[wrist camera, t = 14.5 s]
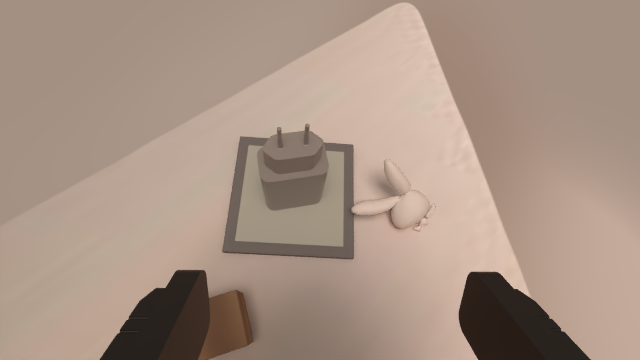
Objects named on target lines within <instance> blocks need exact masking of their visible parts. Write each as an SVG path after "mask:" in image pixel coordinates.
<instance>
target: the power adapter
mask: <svg viewBox="0 0 640 360" xmlns="http://www.w3.org/2000/svg"><path fill="white" fill-rule="evenodd" d="M257 161H258V168H259V175H260V179H261V184H262V188H263V192H264V197H265V201H266V205H267V207H268V208H269V209H270V210H273V211H276V210H282V209H288V208H295V207H301V206H307V205H314V204H317V203H319V202H320V200H321V197H322V193H323V189H324V185H325V181H326V177H327V173H328V169H329V163H328V158H327V154H326V150H325V146H324V144H323V140H322V139H321V138H320V137H318V136H317V135H316V134H314V133H313V132H311V131H309V124H306V125H305V131H300V132H292V133H284V134H281V128H280V127H278V128H277V134H276V135H273V136H271V137H270V138H269V139H268V140H267V142H266V143H265V144H264V146H263V147H262V148H260V149H259V150H258V152H257Z"/></svg>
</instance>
